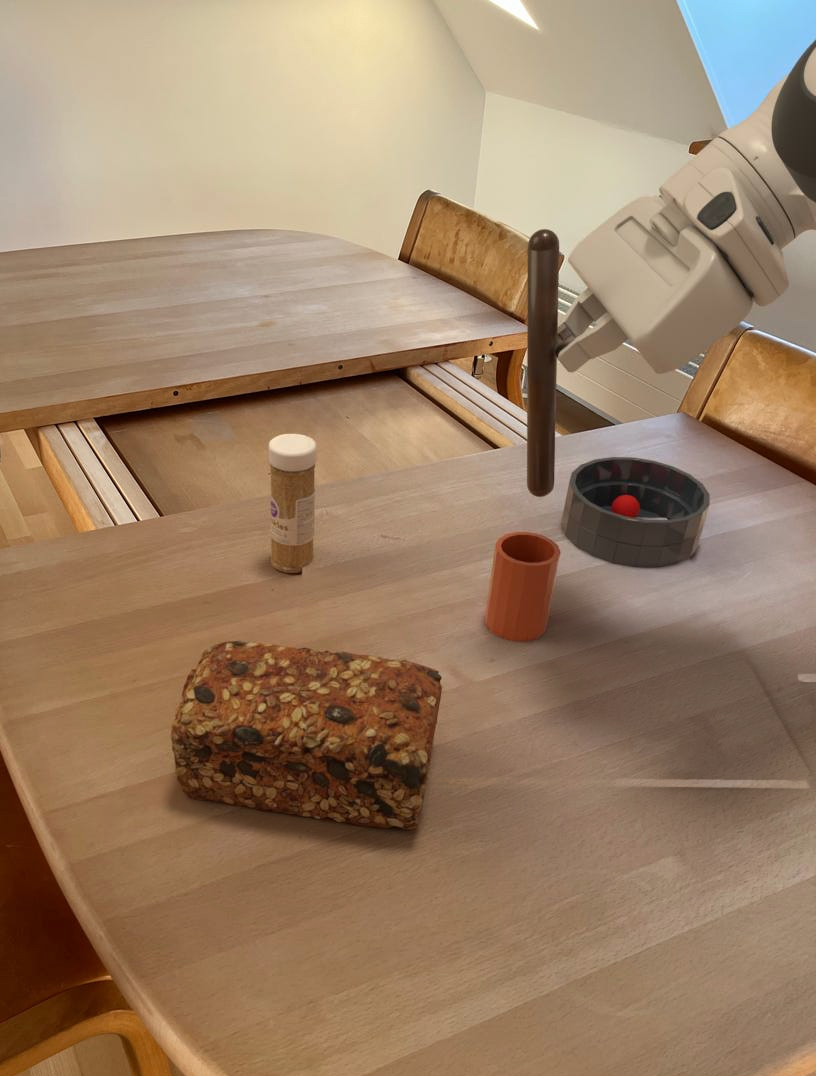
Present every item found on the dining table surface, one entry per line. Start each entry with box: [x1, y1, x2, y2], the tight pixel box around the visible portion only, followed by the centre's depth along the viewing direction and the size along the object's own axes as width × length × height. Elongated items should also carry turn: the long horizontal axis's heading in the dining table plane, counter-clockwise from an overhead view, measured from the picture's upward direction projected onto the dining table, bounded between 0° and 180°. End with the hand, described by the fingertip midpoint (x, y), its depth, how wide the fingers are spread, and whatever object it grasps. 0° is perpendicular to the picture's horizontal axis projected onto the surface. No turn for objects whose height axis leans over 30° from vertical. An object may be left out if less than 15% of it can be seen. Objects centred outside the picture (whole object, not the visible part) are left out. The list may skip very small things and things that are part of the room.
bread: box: [170, 639, 443, 830], centre depth 72 cm, size 19×11×10 cm, turn 78°
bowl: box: [560, 456, 711, 569], centre depth 103 cm, size 14×14×6 cm
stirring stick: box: [526, 228, 560, 498], centre depth 74 cm, size 2×2×21 cm
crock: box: [484, 531, 561, 643], centre depth 88 cm, size 6×6×9 cm
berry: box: [611, 495, 640, 518], centre depth 105 cm, size 3×3×3 cm
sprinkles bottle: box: [267, 433, 318, 574], centre depth 95 cm, size 5×5×13 cm
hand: (556, 355), depth 73 cm, fingers closed on stirring stick, 2 cm apart
